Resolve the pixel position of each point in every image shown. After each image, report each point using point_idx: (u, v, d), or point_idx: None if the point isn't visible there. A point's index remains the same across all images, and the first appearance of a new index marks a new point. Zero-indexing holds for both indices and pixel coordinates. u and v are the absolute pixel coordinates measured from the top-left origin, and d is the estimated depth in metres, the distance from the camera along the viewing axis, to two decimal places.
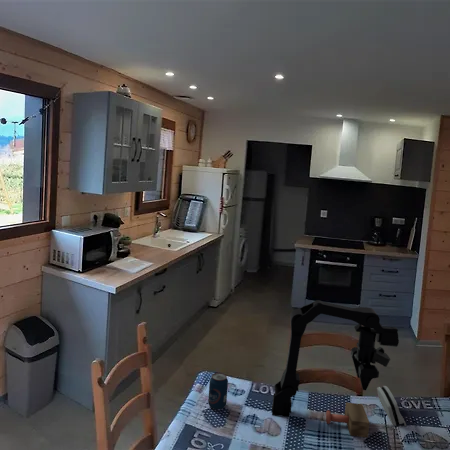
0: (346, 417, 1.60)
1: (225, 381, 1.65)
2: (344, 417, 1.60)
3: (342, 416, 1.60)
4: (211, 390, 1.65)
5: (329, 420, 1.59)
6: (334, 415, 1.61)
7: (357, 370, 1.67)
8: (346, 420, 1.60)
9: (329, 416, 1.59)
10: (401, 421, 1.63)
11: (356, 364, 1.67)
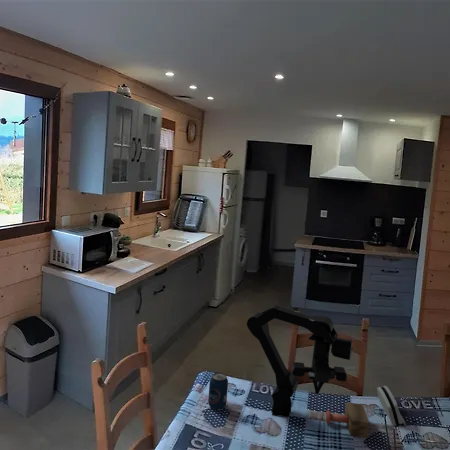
0: (346, 417, 1.60)
1: (225, 381, 1.65)
2: (344, 417, 1.60)
3: (342, 416, 1.60)
4: (211, 390, 1.65)
5: (329, 420, 1.59)
6: (334, 415, 1.61)
7: (317, 385, 1.61)
8: (346, 420, 1.60)
9: (329, 416, 1.59)
10: (401, 421, 1.63)
11: None
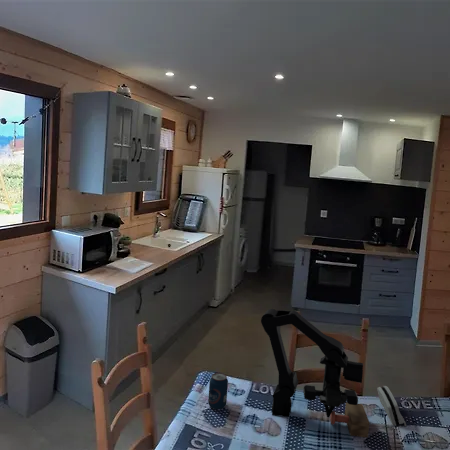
0: None
1: (225, 381, 1.64)
2: (348, 418, 1.60)
3: (346, 417, 1.60)
4: (211, 390, 1.65)
5: (334, 421, 1.59)
6: (338, 416, 1.60)
7: None
8: None
9: (333, 417, 1.59)
10: (401, 421, 1.63)
11: None
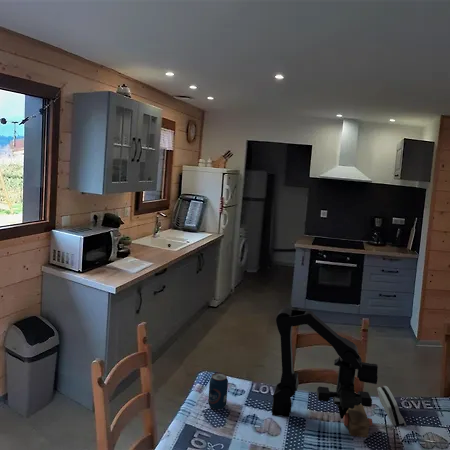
0: None
1: (225, 381, 1.65)
2: None
3: None
4: (211, 390, 1.65)
5: (347, 422, 1.59)
6: None
7: None
8: None
9: (347, 418, 1.59)
10: (401, 421, 1.63)
11: None
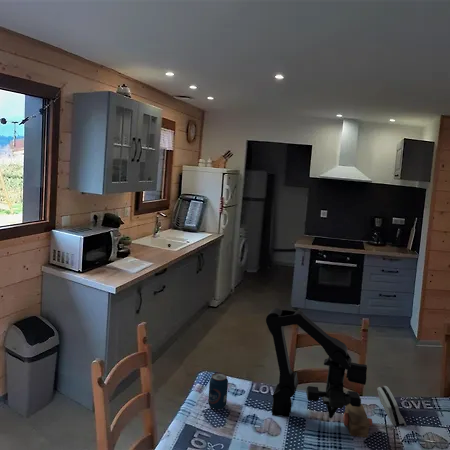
0: None
1: (225, 381, 1.65)
2: None
3: None
4: (211, 390, 1.65)
5: (347, 422, 1.59)
6: None
7: (331, 409, 1.62)
8: None
9: (347, 418, 1.59)
10: (401, 421, 1.63)
11: None
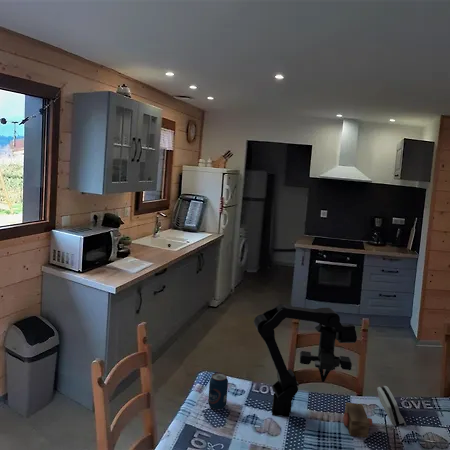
0: None
1: (225, 381, 1.65)
2: None
3: None
4: (211, 390, 1.65)
5: (347, 422, 1.59)
6: None
7: None
8: None
9: (347, 418, 1.59)
10: (401, 421, 1.63)
11: None
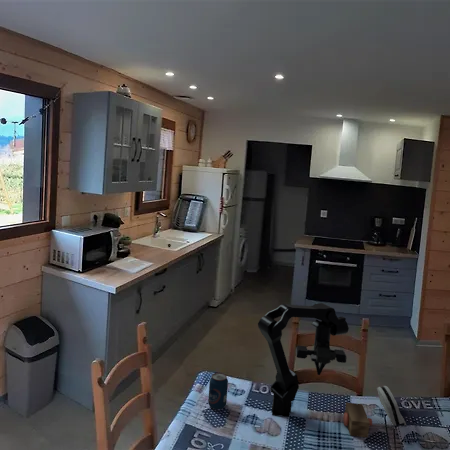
0: None
1: (225, 381, 1.65)
2: None
3: None
4: (211, 390, 1.65)
5: (347, 422, 1.59)
6: None
7: (319, 366, 1.73)
8: None
9: (347, 418, 1.59)
10: (401, 421, 1.63)
11: None
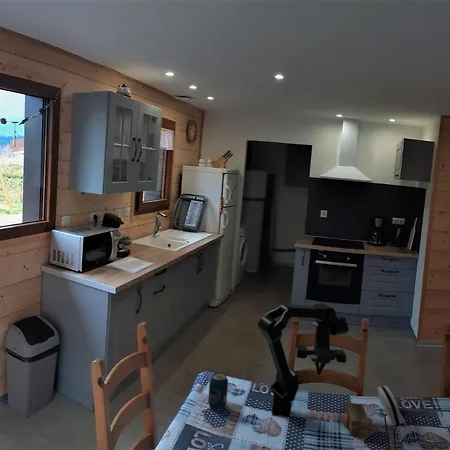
0: None
1: (225, 381, 1.65)
2: None
3: None
4: (211, 390, 1.65)
5: (347, 422, 1.59)
6: None
7: (319, 366, 1.73)
8: None
9: (347, 418, 1.59)
10: (401, 421, 1.63)
11: None
